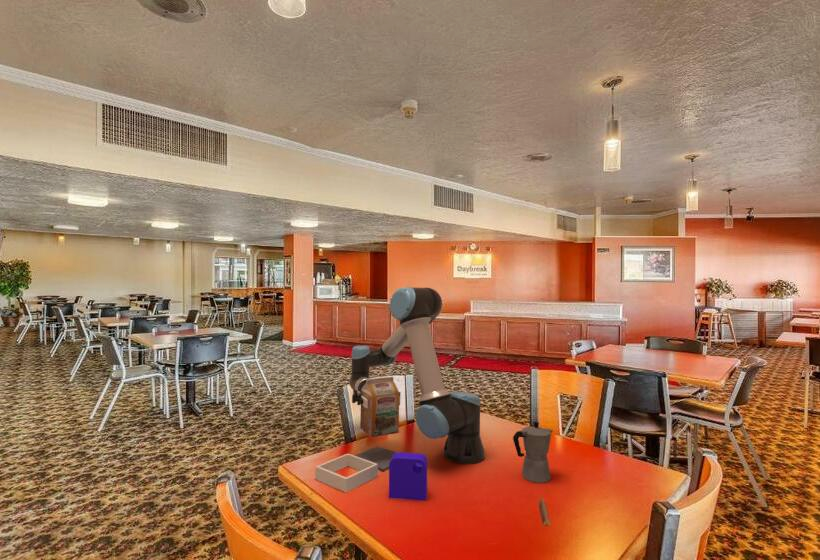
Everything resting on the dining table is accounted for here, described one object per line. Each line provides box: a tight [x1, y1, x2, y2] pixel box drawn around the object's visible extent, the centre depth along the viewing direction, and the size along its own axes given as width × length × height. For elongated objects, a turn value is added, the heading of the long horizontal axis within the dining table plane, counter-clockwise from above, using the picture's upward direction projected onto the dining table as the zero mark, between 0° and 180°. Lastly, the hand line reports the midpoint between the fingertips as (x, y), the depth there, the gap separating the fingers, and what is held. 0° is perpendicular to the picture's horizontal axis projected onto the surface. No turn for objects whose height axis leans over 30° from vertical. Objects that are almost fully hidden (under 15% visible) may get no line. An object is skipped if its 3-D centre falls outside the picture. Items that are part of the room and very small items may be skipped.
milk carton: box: [359, 376, 400, 438], centre depth 152 cm, size 11×11×19 cm
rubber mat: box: [353, 445, 397, 472], centre depth 152 cm, size 16×14×1 cm
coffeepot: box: [512, 421, 554, 484], centre depth 138 cm, size 15×9×18 cm, turn 110°
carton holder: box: [314, 453, 379, 493], centre depth 136 cm, size 14×14×4 cm
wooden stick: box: [537, 497, 551, 526], centre depth 115 cm, size 3×12×2 cm, turn 168°
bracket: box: [388, 452, 428, 502], centre depth 132 cm, size 18×11×12 cm, turn 173°
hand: (383, 402), depth 149 cm, fingers closed on milk carton, 11 cm apart
